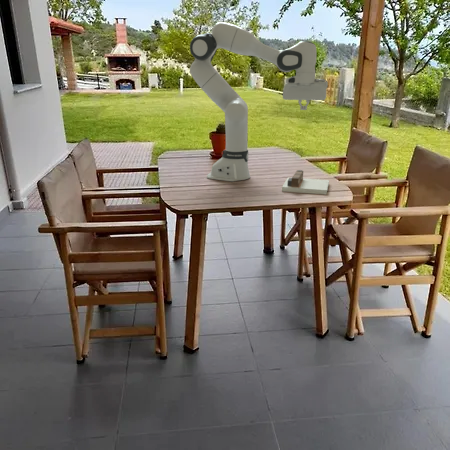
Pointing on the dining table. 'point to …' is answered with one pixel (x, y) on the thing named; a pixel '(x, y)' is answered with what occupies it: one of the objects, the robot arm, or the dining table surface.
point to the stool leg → (297, 178)
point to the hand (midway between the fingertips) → (303, 109)
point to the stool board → (307, 186)
